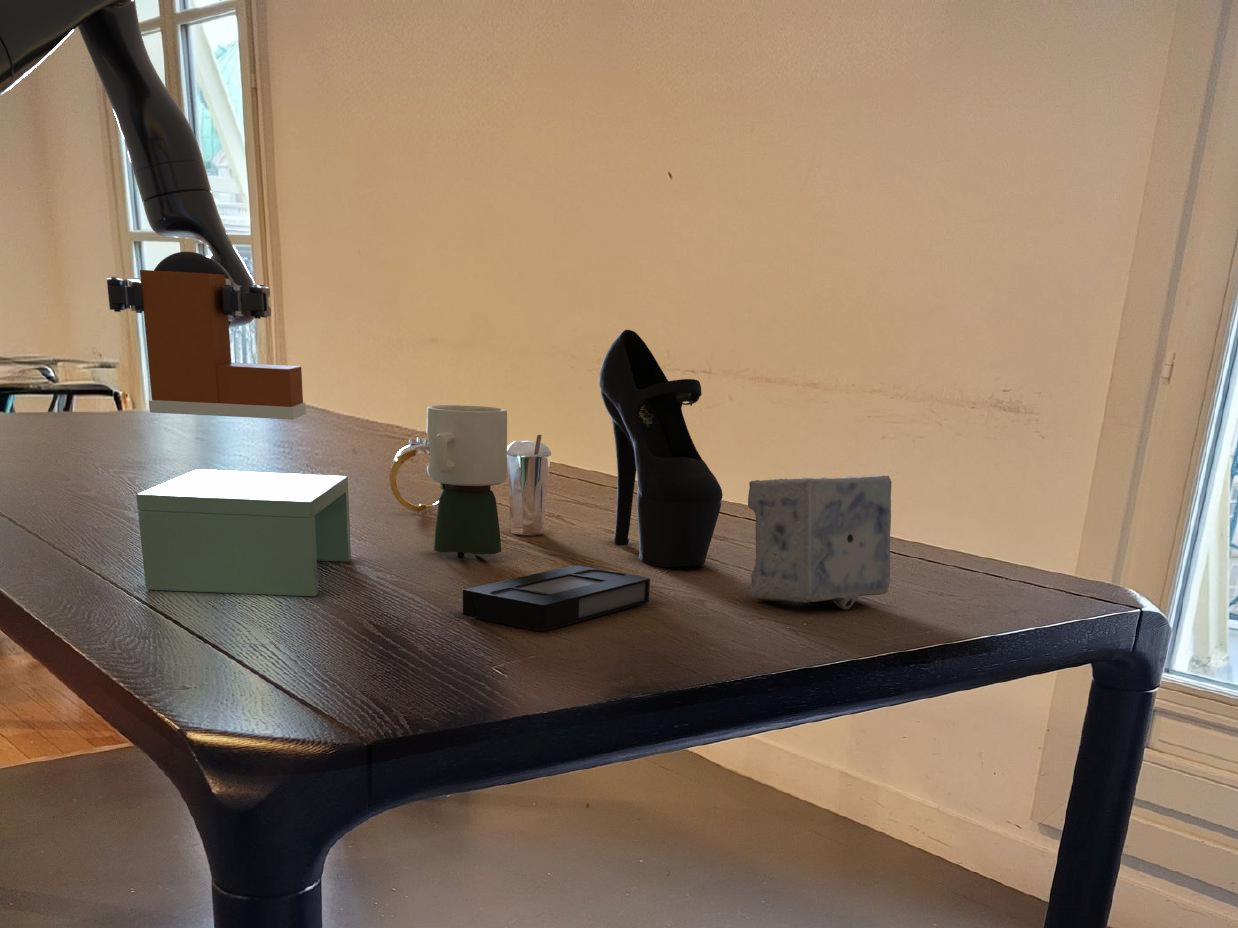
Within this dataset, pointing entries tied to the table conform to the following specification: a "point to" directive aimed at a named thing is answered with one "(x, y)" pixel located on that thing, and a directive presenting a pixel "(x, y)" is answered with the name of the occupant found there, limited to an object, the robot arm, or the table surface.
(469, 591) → the vhs tape
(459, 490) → the character mug
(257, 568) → the shoe shelf
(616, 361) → the high-heeled shoe
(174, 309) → the ankle boot
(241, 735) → the table surface
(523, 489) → the milkshake
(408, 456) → the ring
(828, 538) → the incense holder
